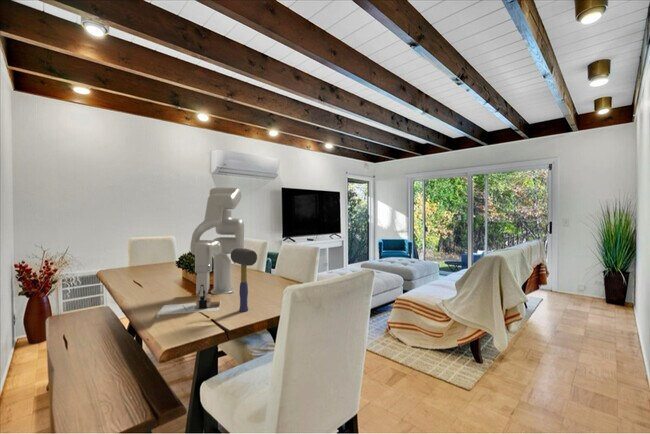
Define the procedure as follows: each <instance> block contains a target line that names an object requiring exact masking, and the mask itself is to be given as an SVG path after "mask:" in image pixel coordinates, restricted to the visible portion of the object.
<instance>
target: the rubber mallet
mask: <svg viewBox="0 0 650 434" xmlns="http://www.w3.org/2000/svg"><path fill="white" fill-rule="evenodd" d="M230 260H231V262H233V263H235V264H238V265H240V284H239V309H238V310H239V313H246V312H248V311H249V306H248V296H249V295H248V294H249V288H248V286H249V285H248V278H247V277H248V275H247V271H248V270H247V266H251V267H252V266H253V265H255V263H256V262H257V260H258V254H257V253H256V251H254V250H253V249H252V250H251V249H249V248H236V249H234V250H233V251H232V252H231V254H230Z"/></svg>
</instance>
